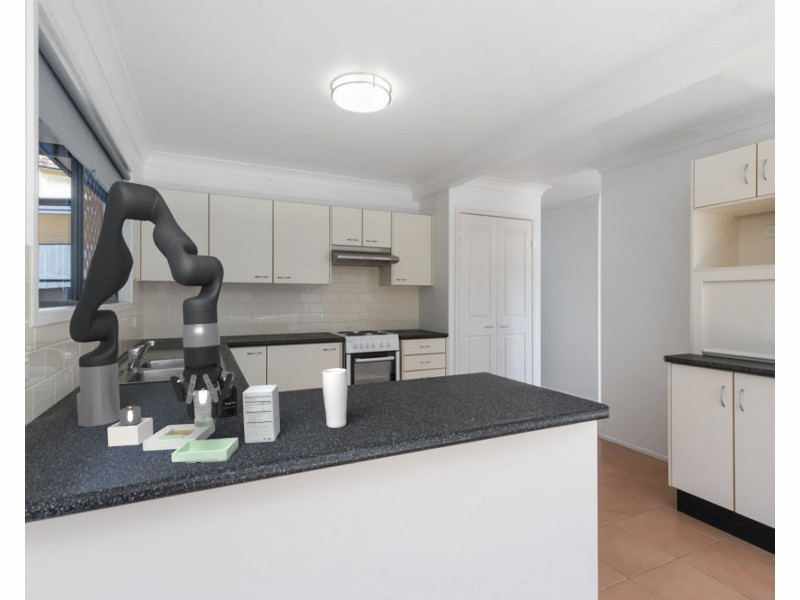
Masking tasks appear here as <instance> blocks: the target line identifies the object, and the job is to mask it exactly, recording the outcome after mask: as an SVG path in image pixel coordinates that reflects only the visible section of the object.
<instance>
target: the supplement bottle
mask: <svg viewBox="0 0 800 600" xmlns="http://www.w3.org/2000/svg"><path fill="white" fill-rule="evenodd" d="M235 381H236V380H235V379H234V382H233V385H232V389H231V393H230V396H229V397H227V398H226V399H223V400H222V413H221V415H220V416H219V417H218V418H217V419H225V418H226V419H227V418H231V417H234V418H235V417H237V416H238V415H239V413H240V412H239V407H240V406H239V386H238V385H237V384H236V383H235ZM224 383H225V381H223V376H221V377H220V378H219V380H218V384H219V386H220V392H221V394H222V391H223V387H224Z"/></svg>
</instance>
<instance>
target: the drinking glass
mask: <svg viewBox="0 0 800 600" xmlns="http://www.w3.org/2000/svg"><path fill="white" fill-rule="evenodd" d="M321 385H322V386H321V387H322V395H323V396H322V397H323V402H324V403H323V404H324V411H325V419H326V420H325V421H326V423H325V425H326V426H327V427H328V428H330V429H339V428H340V429H341V428H344V426H346V425H347V405H348V403H347V402H348V385H349V383H348V372H347V368H339V367H338V368H334V367H333V368H327V369H324V370H322V372H321Z"/></svg>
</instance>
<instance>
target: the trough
mask: <svg viewBox="0 0 800 600" xmlns="http://www.w3.org/2000/svg"><path fill="white" fill-rule="evenodd" d="M239 447H240V446H239V437H228V438H227V437H225V438H209V439H208V438H206V439H205V440H188V441H187V442H185V443H184V444H183V445H182V446H180V447H179V448H178V449H175V450H174V451H173V452H172V453H171V462H172V463H178V462H179V463H180V462H181V463H182V462H183V463H185V464H197V463H196V462H201V463H214V462H215V463H216V462H227V461H229V459H230V458H231V457H232V455H233V454H234V453H235V452H236V451H237V449H238V448H239Z"/></svg>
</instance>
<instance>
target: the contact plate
mask: <svg viewBox="0 0 800 600" xmlns="http://www.w3.org/2000/svg"><path fill="white" fill-rule="evenodd" d="M193 431H195V430H185V431H174V432H173V433H171V434H170V435H177V434H184V436H187V435H190V434H191V433H192V432H193Z"/></svg>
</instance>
